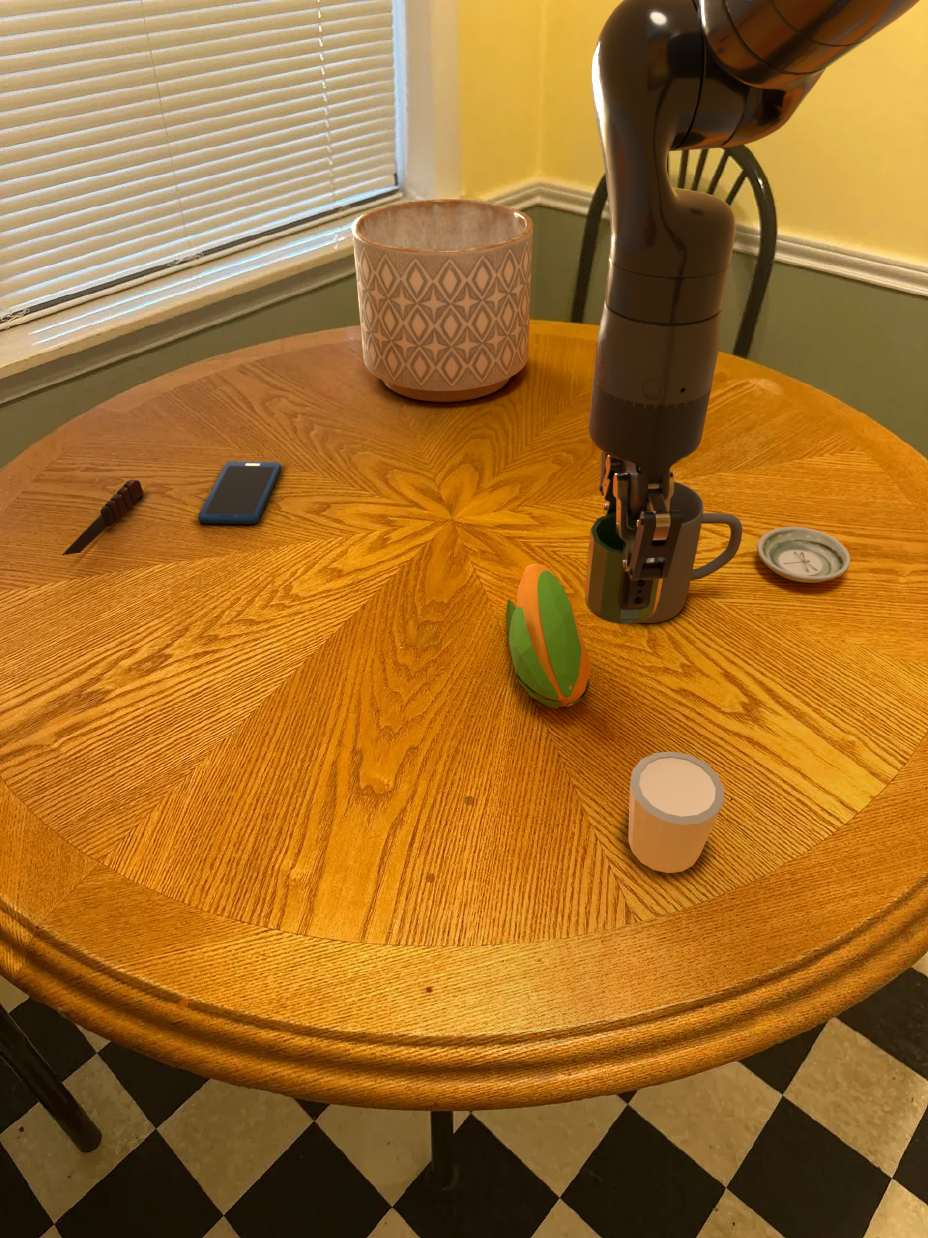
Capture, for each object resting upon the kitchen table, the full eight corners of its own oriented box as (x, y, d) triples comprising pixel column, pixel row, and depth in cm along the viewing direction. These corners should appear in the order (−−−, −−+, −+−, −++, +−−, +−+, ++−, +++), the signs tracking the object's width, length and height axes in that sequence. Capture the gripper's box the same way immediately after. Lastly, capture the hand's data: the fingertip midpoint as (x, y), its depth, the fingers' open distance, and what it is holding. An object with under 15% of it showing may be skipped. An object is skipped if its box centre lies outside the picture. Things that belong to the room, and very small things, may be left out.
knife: (73, 574, 96) (65, 552, 94) (65, 573, 96) (57, 551, 94) (145, 495, 109) (139, 474, 107) (138, 494, 109) (132, 473, 107)
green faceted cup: (664, 622, 65) (677, 553, 61) (591, 626, 65) (599, 557, 61) (647, 577, 70) (658, 509, 65) (579, 580, 69) (585, 513, 65)
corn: (523, 667, 72) (497, 532, 87) (514, 730, 77) (491, 592, 92) (610, 666, 73) (569, 533, 88) (596, 728, 78) (559, 591, 93)
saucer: (736, 553, 97) (740, 536, 96) (807, 536, 100) (812, 518, 98) (788, 604, 90) (793, 585, 89) (863, 583, 93) (870, 565, 91)
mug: (605, 625, 88) (617, 528, 80) (594, 572, 95) (604, 477, 87) (738, 624, 88) (763, 526, 80) (717, 570, 95) (738, 475, 87)
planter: (547, 400, 128) (555, 242, 113) (377, 418, 124) (363, 258, 109) (504, 335, 147) (507, 193, 132) (356, 349, 143) (342, 205, 128)
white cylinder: (681, 798, 71) (694, 740, 67) (725, 865, 66) (743, 809, 62) (605, 820, 70) (614, 763, 65) (645, 891, 65) (658, 834, 60)
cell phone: (282, 466, 113) (281, 461, 113) (257, 525, 103) (256, 520, 102) (227, 465, 114) (226, 460, 113) (197, 524, 103) (195, 518, 103)
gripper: (745, 424, 50) (697, 640, 61) (681, 327, 61) (650, 525, 72) (617, 429, 50) (592, 646, 61) (576, 331, 60) (561, 529, 71)
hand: (624, 580), depth 66 cm, fingers closed on green faceted cup, 5 cm apart
